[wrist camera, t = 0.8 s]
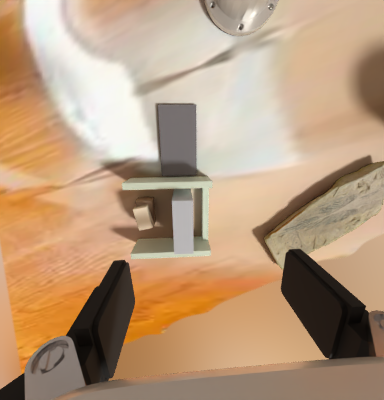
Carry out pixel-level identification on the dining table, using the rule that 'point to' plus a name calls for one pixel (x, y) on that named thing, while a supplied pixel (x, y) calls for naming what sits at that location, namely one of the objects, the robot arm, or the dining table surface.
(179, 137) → the panel
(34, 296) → the dining table surface
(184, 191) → the tall grey upright block
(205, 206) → the rack
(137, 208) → the offcut
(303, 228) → the stone slab
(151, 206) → the offcut
